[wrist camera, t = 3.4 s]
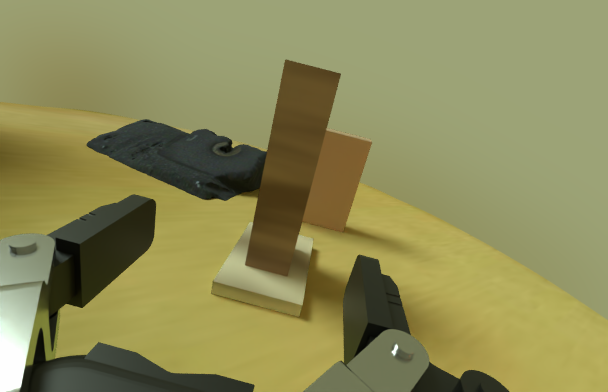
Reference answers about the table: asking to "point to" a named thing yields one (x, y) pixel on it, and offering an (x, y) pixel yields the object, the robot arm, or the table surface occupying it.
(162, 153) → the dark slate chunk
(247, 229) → the brown post on base
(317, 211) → the tile
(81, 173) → the table surface
